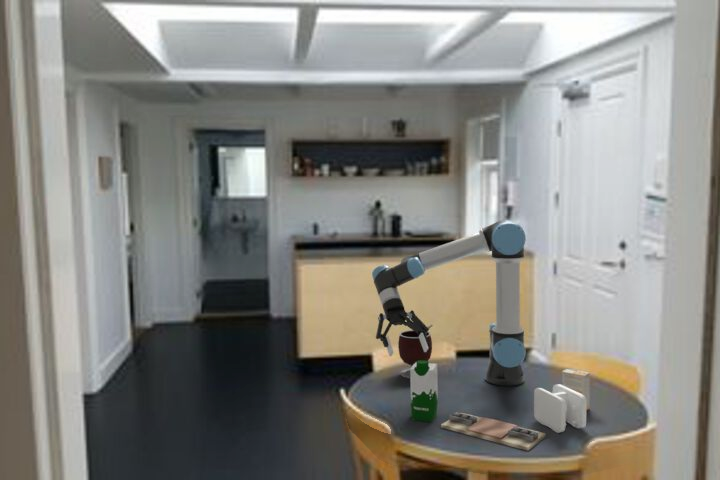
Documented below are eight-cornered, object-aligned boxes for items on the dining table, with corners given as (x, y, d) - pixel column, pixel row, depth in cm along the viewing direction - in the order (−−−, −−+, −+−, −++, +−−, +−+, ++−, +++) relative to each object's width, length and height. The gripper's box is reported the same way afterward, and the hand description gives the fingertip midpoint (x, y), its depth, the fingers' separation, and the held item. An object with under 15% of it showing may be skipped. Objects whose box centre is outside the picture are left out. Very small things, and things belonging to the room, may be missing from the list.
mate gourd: (410, 381, 253) (409, 332, 251) (392, 372, 266) (391, 325, 264) (442, 375, 261) (441, 327, 259) (423, 366, 273) (423, 321, 271)
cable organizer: (531, 419, 212) (531, 385, 210) (557, 414, 215) (558, 381, 214) (560, 436, 198) (561, 400, 196) (588, 430, 201) (588, 395, 200)
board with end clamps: (441, 427, 206) (441, 418, 206) (461, 415, 216) (461, 406, 216) (528, 450, 187) (528, 441, 187) (545, 436, 198) (545, 427, 197)
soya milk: (408, 420, 213) (407, 362, 211) (415, 411, 221) (414, 355, 219) (434, 423, 210) (433, 364, 208) (439, 413, 218) (439, 357, 216)
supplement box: (590, 409, 220) (590, 372, 219) (583, 412, 216) (584, 375, 215) (567, 403, 226) (568, 367, 224) (561, 407, 222) (561, 370, 221)
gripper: (418, 305, 243) (436, 353, 231) (358, 311, 234) (373, 361, 222) (424, 294, 238) (444, 343, 225) (363, 299, 229) (379, 350, 216)
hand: (409, 352), depth 223 cm, fingers open, 13 cm apart
